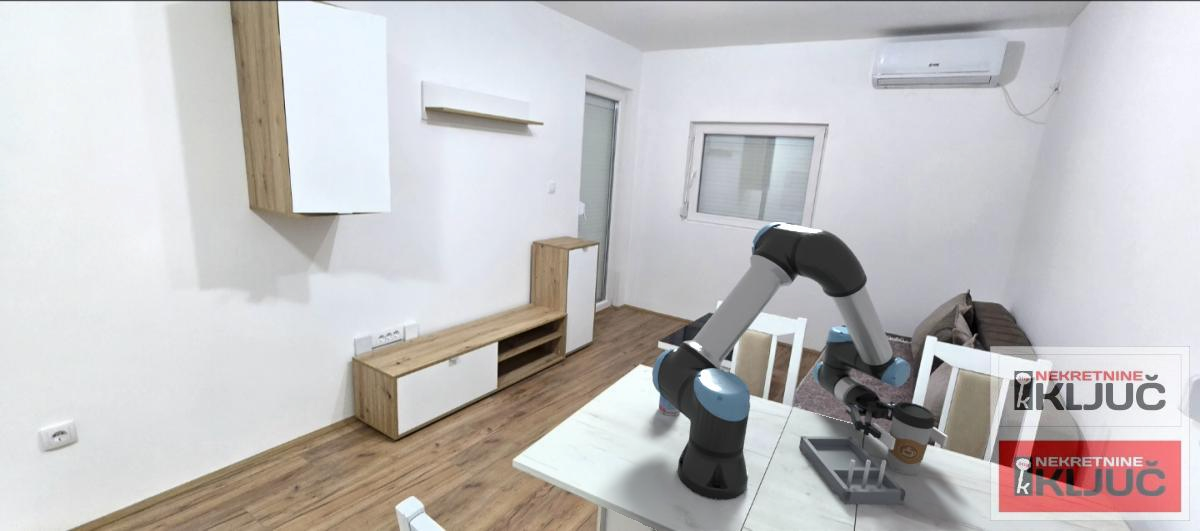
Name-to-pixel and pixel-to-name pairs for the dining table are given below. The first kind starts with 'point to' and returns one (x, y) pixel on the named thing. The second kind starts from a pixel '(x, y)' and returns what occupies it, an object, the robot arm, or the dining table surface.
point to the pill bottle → (667, 407)
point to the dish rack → (851, 471)
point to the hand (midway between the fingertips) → (919, 443)
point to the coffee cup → (909, 436)
